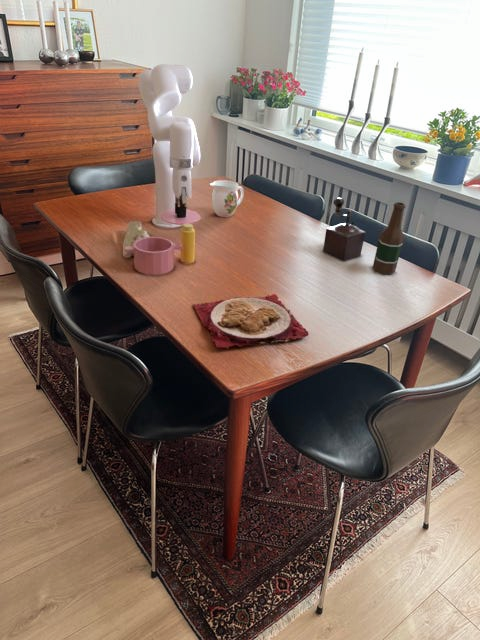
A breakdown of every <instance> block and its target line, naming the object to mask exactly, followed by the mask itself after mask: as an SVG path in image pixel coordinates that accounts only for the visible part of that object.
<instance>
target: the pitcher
mask: <svg viewBox="0 0 480 640" xmlns="http://www.w3.org/2000/svg"><path fill="white" fill-rule="evenodd" d="M209 186H210V187H212V188H213V190H212V194H211V205H212V209H213V211H214V214H215V215H216V216H218V217H221V218H230V217H232V216H233V215H234V214H235V212H236V210H237V207H238V206H239V205H240V204H241V203H242V202H243V199H244V196H245V191H244V188H243V187H242V186H240V185H239V183H238V182H236V181H233V180H230V179H229V180H228V179H219V180H214V181H213V182H211V183H209ZM238 191H240V197H239V192H238Z"/></svg>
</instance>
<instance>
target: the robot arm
mask: <svg viewBox="0 0 480 640" xmlns="http://www.w3.org/2000/svg"><path fill="white" fill-rule="evenodd" d="M193 80H194V79H193V75H192V71H191V70H190V68H189V67H188V66H186V65H183V64H168V63H167V64H166V63H165V64H163V63H162V64H158V65H156V66H154V67H153V68H149V69H145V70H143V71H141V72H140V73H139V75H138V90H139V94H140V97H141V99H142V102H143V104H144V106H145V108H146V109H147V122H148V127H149V131H150V134H151V137H152V139H154V140H155V141H156V142H154V144H153V146H152V148H151V149H152V151H151V152H152V158H153V164H154V165H153V166H154V174H155V175H154V177H155V178H154V179H155V215H156V216H154V218H152V219H151V221H152V224H153V225H154V226H156V227H159V228H164V229H174V228H180V227H183V225H176V224H170V223H167V222H165V221H163V220H162V219H161V214H162V213H163V212H164V211H167V210H172V209H175V214H177V218H183V217H186V210H187V198H188V200H190V199H192V172H191V170H192V169H193V168H194V167H197V166H199V164H200V161H201V149H200V144H199V140H198V135H197V131H196V126H195V123H194V121H193V119H191V118H190V117H189V116H183V115H181V116H180V115H179V116H178V115H176V116H175V115H173V113H172V112H173V111H174V110H176V109H177V108H178V107H179V106H180V104H181V101H182V95H184V94H187V93H189V92H190V91H191V89H192V87H193ZM177 202H178V206H177Z"/></svg>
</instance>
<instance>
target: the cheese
mask: <svg viewBox="0 0 480 640" xmlns="http://www.w3.org/2000/svg"><path fill="white" fill-rule="evenodd" d="M142 227H143V226H142V223H141V221H138V220H135V221H134V220H133V221H129V222H128V224H127V227H126V232H125V236H124V238H123V243H122V256H123V257H124V258H125V259H131V257H132V256H134V252H125V247H126V246H133V244H134V242H135V241H136V240H138V239H141V238H145V237H151V236H150V234H149V233H148V232H147V231H146V230H145V229H142Z"/></svg>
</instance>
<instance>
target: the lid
mask: <svg viewBox="0 0 480 640" xmlns="http://www.w3.org/2000/svg"><path fill="white" fill-rule="evenodd" d="M177 206H178V202H177ZM161 219H162V220H163V221H165V222H167V223H170V224H176V225H182V226H183V224H187V223H188V224H192V225H194V224H196V223H198V222H199V221H200V219H201V216H200V214H199V213H198V212H196V211H194V210H190V209H186V217H183V218H177V214H175V209H172V210H167V211H164V212H163V213H162V214H161Z"/></svg>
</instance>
